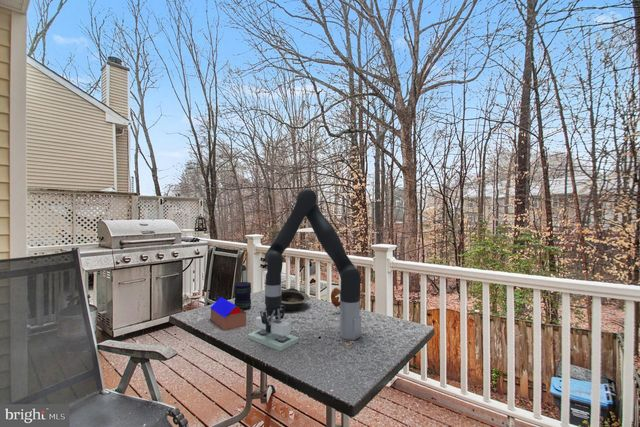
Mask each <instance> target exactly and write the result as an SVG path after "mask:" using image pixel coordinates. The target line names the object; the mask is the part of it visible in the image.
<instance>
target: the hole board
mask: <svg viewBox="0 0 640 427" xmlns="http://www.w3.org/2000/svg"><path fill="white" fill-rule="evenodd" d="M260 330H261V328H259V329H258V330H255V331H252V332H251V333H248V334H247V339H249V341H254V342H255V343H257V344H261V345H263V346H266V347H268V348H271V349H274V350H275V351H279V352H282V351H283V350H285V349H288V348H289V347H292V346H293V345H296V344H297V343H299V342H300V340H299V339H300V337H298V336H295V335H293V334H290V333H288V334H286V335H285V336H287V339H286V340H285V341H283V342H282V341H279V340H278V336H279V334H276V333H274V332H270V333H267V334H265V335H263V334H260Z"/></svg>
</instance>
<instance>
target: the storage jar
mask: <svg viewBox="0 0 640 427" xmlns="http://www.w3.org/2000/svg"><path fill="white" fill-rule="evenodd" d="M251 293H252V283H251V282H250V281H249V282H248V281H239V282H236V283H234V302H233V304H234V305H236V306H238V307H239V308H240V309H242V310H243V311H245V312H246V311H249V310H251V309H252V298H251Z"/></svg>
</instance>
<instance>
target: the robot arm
mask: <svg viewBox="0 0 640 427" xmlns="http://www.w3.org/2000/svg"><path fill="white" fill-rule="evenodd" d="M317 199H318V196H317V193H316V191H315V190H313V189H311V188H304V189H301V190H300V191H299V192H298V194H297V196H296V202H295V205H294V207H293V209H292V211H291V213H290V215H289V216H288V218H287V219H286V221H285V223H284V224H283V226H282V227H281V229H280V230H279V232H278V234H277V236H276V238H275V239H274V241H273V242H272V244H271V245H270V246H269V248H268V250H266V253H265V255H264V256H265V257H264V259H265V262H266V264H267V270H266V274H265V287H264V305H265V308H264V310H260V316H261V320H262V323H263V324H265V325H266V332H267V333H270V332H271V325H270V324H271V320H272V319H273V318H275V319H278V320H281V321H282V320H283V319H285V318H284V317H285V311H286V310H285V306H284V305H280V304H281V300H282V290H283V288H282V270H283V264H284V262H283V261H284V260H283V253H284V252H285V251H286V250H287V249H288V248H289V247H290V245H291V243H292V242H293V239H294V238H295V236H296V234H297V232H298V231H299V230H298V229H299V228H300V226H301V225H302V222H303V221H304V219H305V217H306V219H307V220H308V222H309V223H310V226H311V229H312V230H313V232H314V234H315V236H316V238H317V240H318V242H319V244H320V245H321V247H322V248H323V250H324V251H325V253H326V254H327V256H328V257H329V258H330V259H331V260H332V261H333V264H334V266H335V268H336V270H337V272H338V274H339V277H340V290H341V293H340V294H339V302H340V306H339V337H340V338H342V339H343V340H347V341H348V340H352V341H355V340H357V339H359V338H361V337H362V316H361V315H360V304H361V302H360V300H361V299H360V297H361V288H362V287H361V286H362V285H361V284H362V283H361V281H362V279H361V273H360V272H359V269H357V267H356V266H355V264H353V262H352V261H351V259H350V258H349V256H348V255H347V253H346V250H345V248H344V245H343V243H342V241H341V238H340V237H339V234H338V233H337V231H336V230H335V228H334V227H333V225H332V223H331V222H329V220H328V219H327V218H326V217H325V216H324V214H323V213H322V211H321V210H320V208H319V206H318V203H317ZM268 319H269V322H268Z"/></svg>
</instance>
